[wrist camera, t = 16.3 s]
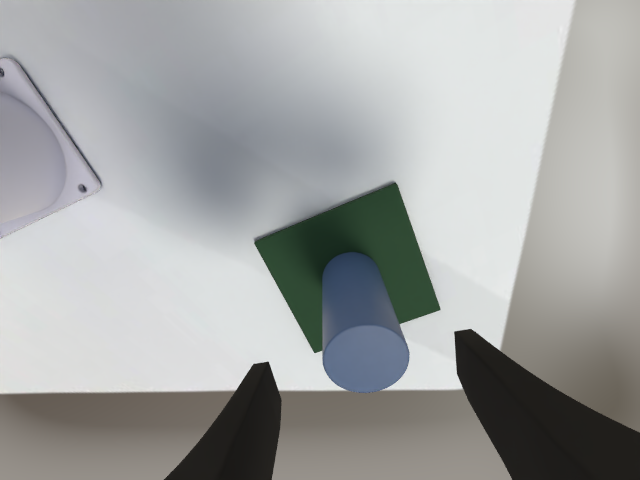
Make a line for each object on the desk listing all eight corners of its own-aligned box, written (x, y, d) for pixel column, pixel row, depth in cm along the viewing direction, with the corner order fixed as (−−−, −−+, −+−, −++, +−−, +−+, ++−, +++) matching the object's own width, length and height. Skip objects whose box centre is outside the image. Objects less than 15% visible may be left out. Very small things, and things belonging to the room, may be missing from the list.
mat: (314, 350, 25) (314, 353, 24) (255, 240, 21) (253, 243, 21) (438, 307, 23) (440, 310, 23) (395, 182, 20) (397, 183, 20)
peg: (326, 305, 23) (329, 397, 15) (318, 255, 21) (316, 330, 14) (382, 299, 23) (411, 388, 15) (377, 247, 21) (407, 319, 14)
